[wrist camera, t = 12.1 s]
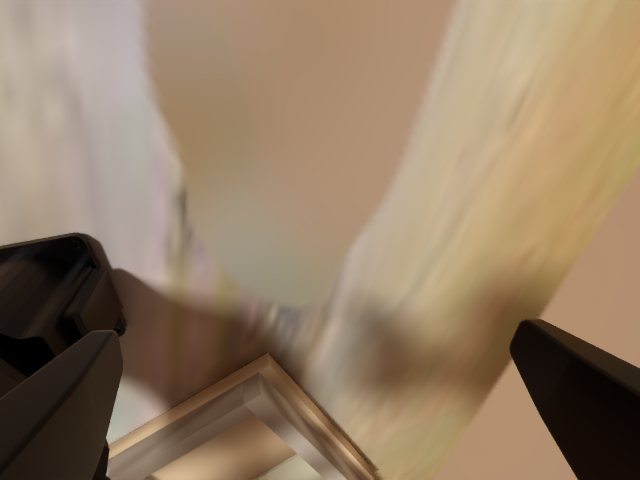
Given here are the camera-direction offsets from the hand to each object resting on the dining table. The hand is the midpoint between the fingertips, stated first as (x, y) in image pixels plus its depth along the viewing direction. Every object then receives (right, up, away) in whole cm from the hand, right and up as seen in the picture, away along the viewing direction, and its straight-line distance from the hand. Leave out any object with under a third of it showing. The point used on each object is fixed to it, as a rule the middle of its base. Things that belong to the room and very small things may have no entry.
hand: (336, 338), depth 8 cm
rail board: (-6, -15, +21) cm, 27 cm away
